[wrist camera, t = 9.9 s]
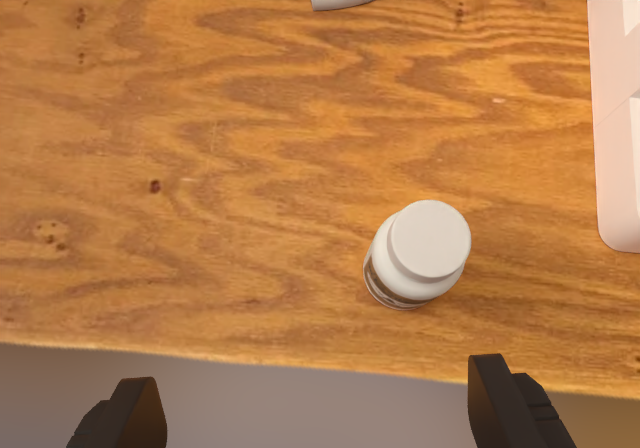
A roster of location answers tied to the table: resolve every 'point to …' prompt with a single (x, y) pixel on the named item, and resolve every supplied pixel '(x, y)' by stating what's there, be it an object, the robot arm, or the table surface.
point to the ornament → (335, 4)
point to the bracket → (616, 119)
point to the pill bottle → (417, 255)
